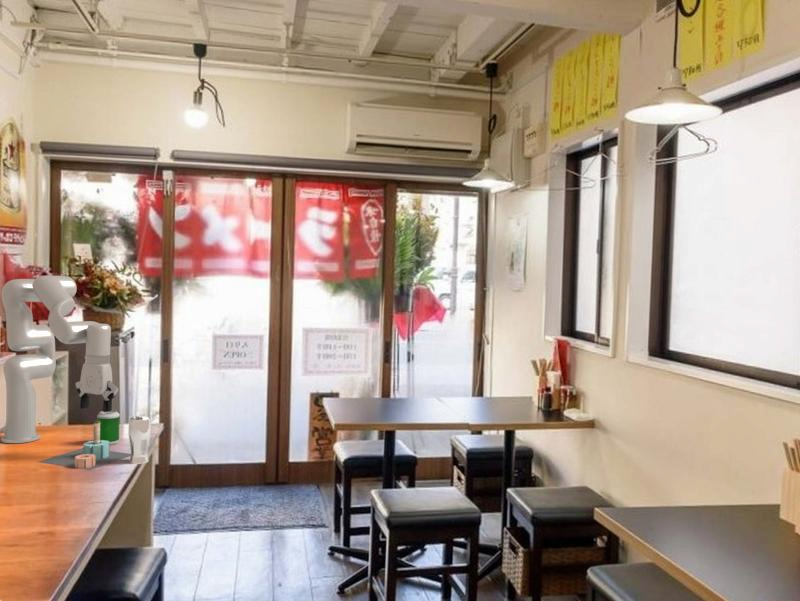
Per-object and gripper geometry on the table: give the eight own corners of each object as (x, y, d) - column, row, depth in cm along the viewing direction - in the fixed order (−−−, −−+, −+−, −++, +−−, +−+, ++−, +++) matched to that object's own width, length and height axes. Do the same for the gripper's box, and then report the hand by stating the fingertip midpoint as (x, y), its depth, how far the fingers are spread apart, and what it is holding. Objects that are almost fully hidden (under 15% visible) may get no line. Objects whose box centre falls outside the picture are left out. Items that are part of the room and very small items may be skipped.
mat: (36, 463, 211) (36, 461, 211) (84, 448, 230) (84, 447, 230) (90, 471, 204) (90, 469, 204) (134, 455, 223) (134, 454, 223)
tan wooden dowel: (91, 456, 219) (92, 421, 218) (96, 455, 221) (96, 420, 220) (96, 457, 218) (97, 422, 218) (100, 455, 220) (101, 421, 220)
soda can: (123, 442, 240) (123, 410, 239) (112, 447, 232) (112, 414, 232) (104, 441, 241) (104, 409, 240) (92, 446, 233) (92, 413, 233)
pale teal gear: (77, 457, 217) (78, 444, 217) (96, 452, 224) (96, 439, 224) (96, 460, 214) (97, 447, 214) (114, 454, 222) (114, 441, 222)
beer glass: (123, 463, 213) (124, 418, 213) (140, 458, 220) (141, 414, 219) (137, 466, 210) (138, 421, 210) (154, 461, 216) (155, 417, 216)
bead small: (71, 468, 205) (71, 458, 205) (80, 462, 211) (80, 453, 211) (90, 468, 205) (90, 459, 205) (98, 463, 211) (98, 454, 211)
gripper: (68, 358, 218) (67, 408, 218) (110, 363, 212) (108, 415, 213) (86, 356, 225) (84, 404, 225) (126, 361, 219) (124, 410, 220)
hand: (95, 409), depth 219 cm, fingers open, 9 cm apart
